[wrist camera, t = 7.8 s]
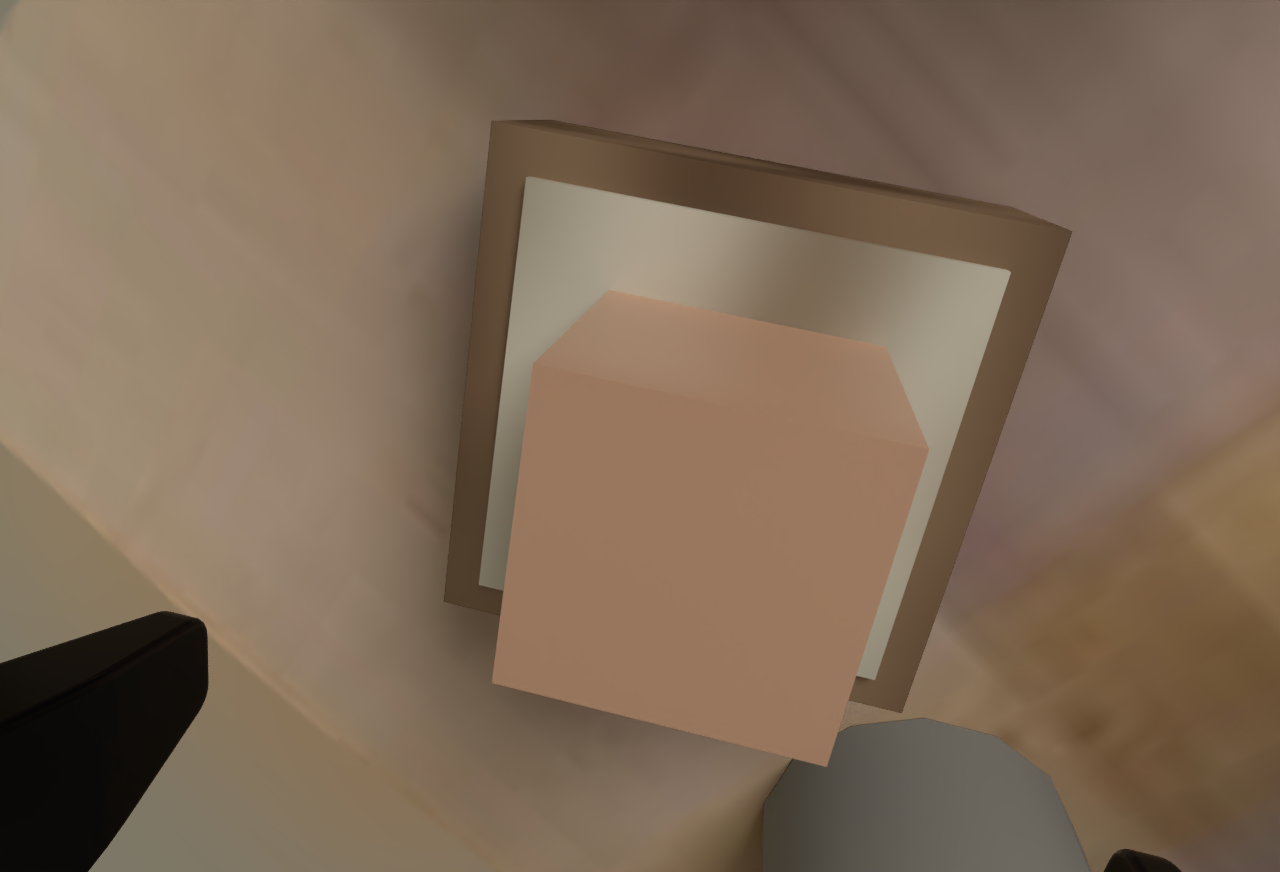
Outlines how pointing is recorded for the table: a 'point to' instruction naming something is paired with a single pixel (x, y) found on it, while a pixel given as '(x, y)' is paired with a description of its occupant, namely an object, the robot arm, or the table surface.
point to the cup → (918, 807)
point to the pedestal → (756, 289)
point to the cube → (705, 522)
